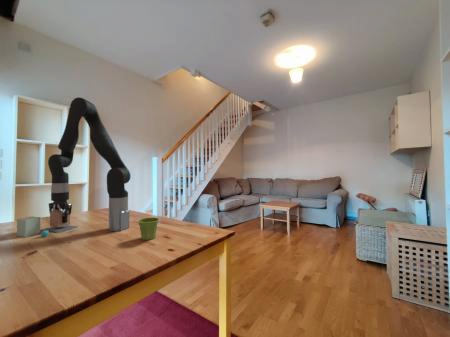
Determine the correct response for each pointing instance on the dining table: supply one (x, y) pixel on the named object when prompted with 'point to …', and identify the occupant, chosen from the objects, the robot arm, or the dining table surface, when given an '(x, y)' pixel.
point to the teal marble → (44, 233)
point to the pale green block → (28, 226)
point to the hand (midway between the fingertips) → (60, 222)
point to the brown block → (58, 219)
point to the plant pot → (148, 227)
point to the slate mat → (59, 228)
